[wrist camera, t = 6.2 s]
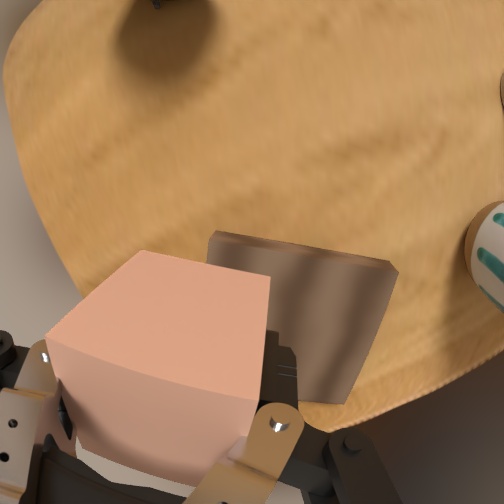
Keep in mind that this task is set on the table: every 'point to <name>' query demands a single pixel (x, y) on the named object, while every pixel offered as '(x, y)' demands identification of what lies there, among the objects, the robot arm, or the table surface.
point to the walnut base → (315, 306)
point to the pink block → (164, 364)
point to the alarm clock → (156, 3)
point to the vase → (487, 252)
